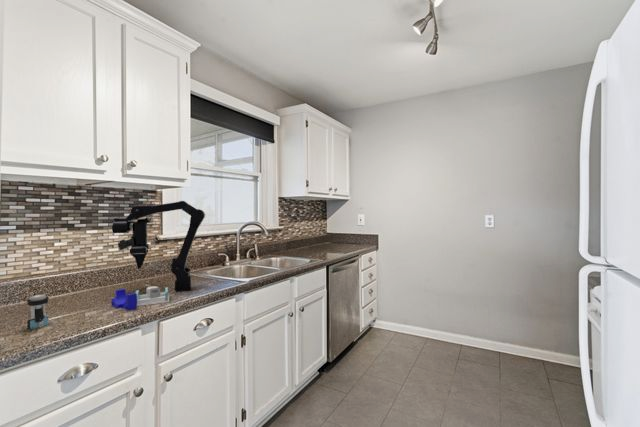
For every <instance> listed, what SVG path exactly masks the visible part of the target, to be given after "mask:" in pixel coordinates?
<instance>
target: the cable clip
mask: <svg viewBox="0 0 640 427" xmlns="http://www.w3.org/2000/svg"><path fill="white" fill-rule="evenodd" d="M126 293H127V292H126V288H120V289H116V290H115V297H113V298H112V297H111V300H110V301H111V307H113V308H116V309H121V308H122V309H123V310H126V311H132V310H136V309H138V306H137V293H135V292H132V293H127V294H126Z"/></svg>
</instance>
